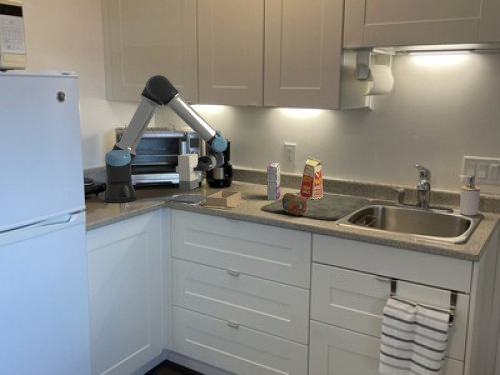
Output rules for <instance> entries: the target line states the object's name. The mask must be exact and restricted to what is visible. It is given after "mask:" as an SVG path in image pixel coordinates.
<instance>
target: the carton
mask: <svg viewBox="0 0 500 375" xmlns="http://www.w3.org/2000/svg"><path fill="white" fill-rule="evenodd" d="M206 196H207V197H206V199H205V201H204V202H202V203H200V205H201V206H203V207H204V208H211V209H219V210H221V209H224V208H233V209H234V208H236V207H238V206H240V205H242V204H244V203H246V202H248V200H247V199H244V198H243V197H242V191H236V190H234V191H233V190H220V191H217V192H215V193H213V194H210V195H206Z"/></svg>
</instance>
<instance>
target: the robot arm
mask: <svg viewBox="0 0 500 375" xmlns="http://www.w3.org/2000/svg"><path fill="white" fill-rule="evenodd" d="M140 99H141V100H140V102H139V104H138V106H137V108H136V110H135V112H134V113H133V115H132V117H131V120H130V122H129V124H127V127H126V129H125V131H124V133H123V135H122V136H121V138H120V141H119V142H116V143H114V145H113V147H112V148H111V150H109V151H107V152H106V153H105V157H104V161H105V168H106V171H105V172H106V173H105V175H106V187H105V191H104V195H103V200H104V202H106V203H111V204H114V203H115V204H118V203H119V204H121V203H129V202H134V201H136V200H137V193H136V191H135V188H134V185H133V180H132V179H133V178H132V177H133V176H132V175H133V174H132V164H133V162H134V159H135V157H136V156H137V152H136V150H137V148H138V145H139V143H140V142H141V140H142V137H143V136H144V134H145V132H146V131H147V129H148V127H149V124H150V123H151V120H153V117H154V115H155V113H156V111H157V109H159V108H162V107H163V106H164V107H167V108H170V110H171V111H173V113H175V114H176V115H177V116H178V117H179V118H180V119H181V120H182V121H183V122H184V123H185V125H187V126H188V127H189V128H190V129H192V131H193V132H194V133H195V134H197V135H198V136H199V137H200V138H201V139H202V140H203V142H205V143H206V155H202V156H199V157H198V164H197V165H195V166H191V167H188V171H189V173H192V172H195V171H198V172H207V171H210V170H212V169H215V168H219V167H221V166H222V164H223V163H224V164H225V162H224V157H225V155H224V154H223V152H224V151H226V149H227V147H228V141H227V140H226V139H225V137H223V136H222V132H221V131H220V130H218V129H214V127H212V125H210V124H209V123H208V122H207V121H206V119H205V118H203V117H202V116H201V115H200V114H199V113H198V112H197V111H196V110H195V109H194V108H193V107H192V106H191V105H190V104H189V103H188V102H187V101H186V100H184V98H183V97H182V96H181V95H180V91H179V90H178V89H177V88H176V87H175V86H174V85H173V83H172V82H171V81H170V79H168V78H167V77H166V76H165V75H161V74H157V75H156V74H155V75H152V76H151V77H149V78H148V79H147V81H146V83H145V86H144V89H143V90H142V92H141V94H140ZM216 152H217V153H216ZM222 154H223V155H224V156H223V155H222ZM224 164H223V165H224ZM175 172H176V173H179V166H178V165H177V166H175Z"/></svg>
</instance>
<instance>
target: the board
mask: <svg viewBox="0 0 500 375" xmlns="http://www.w3.org/2000/svg"><path fill="white" fill-rule="evenodd" d="M207 196H208V195H202V194H189V193H183V194H180V195H176V196H174V197H172V198H168V202H169V201H173V202H172V203H180V202H183V203H182V204H190V205H191V204H195V205H196V204H197V203H199V202H202V201H204V200H205V201H206V197H207Z"/></svg>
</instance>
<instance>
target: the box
mask: <svg viewBox="0 0 500 375" xmlns="http://www.w3.org/2000/svg"><path fill="white" fill-rule="evenodd" d="M198 156H199V155H198V153H182V154H180V155H177V159H178V162H177V163H178V164H177V166H179V172H178V182H179V185H178V187H179V190H188V191H189V190H194V189H196V188H199V187H200V184H199V182H200V181H199V171H195V172H192V173H189V171H188V167H191V166H195V165H197V164H198V158H199V157H198Z"/></svg>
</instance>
